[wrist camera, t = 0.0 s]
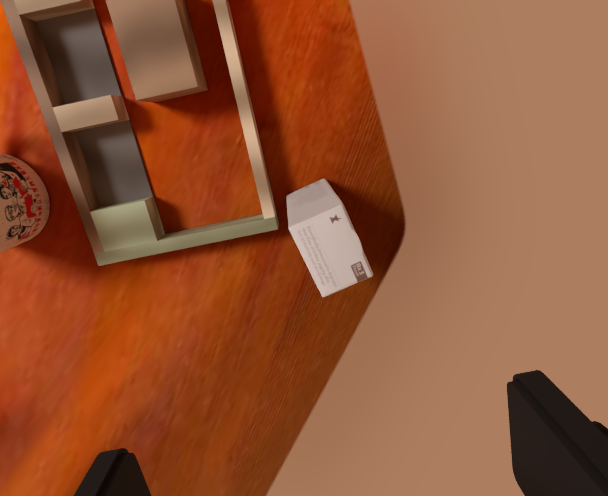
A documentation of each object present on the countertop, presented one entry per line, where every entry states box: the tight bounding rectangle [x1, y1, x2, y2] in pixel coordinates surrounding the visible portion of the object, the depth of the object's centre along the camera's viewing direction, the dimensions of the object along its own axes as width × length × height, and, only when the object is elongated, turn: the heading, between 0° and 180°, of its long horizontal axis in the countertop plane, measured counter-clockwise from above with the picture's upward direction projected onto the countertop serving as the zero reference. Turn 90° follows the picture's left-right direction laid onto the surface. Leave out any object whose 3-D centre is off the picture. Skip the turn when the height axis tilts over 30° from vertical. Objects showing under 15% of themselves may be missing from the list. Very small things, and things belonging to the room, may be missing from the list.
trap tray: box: [0, 0, 279, 266], centre depth 36 cm, size 23×17×2 cm
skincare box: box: [286, 179, 373, 297], centre depth 35 cm, size 6×4×12 cm
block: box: [106, 0, 208, 102], centre depth 34 cm, size 8×5×4 cm, turn 12°
